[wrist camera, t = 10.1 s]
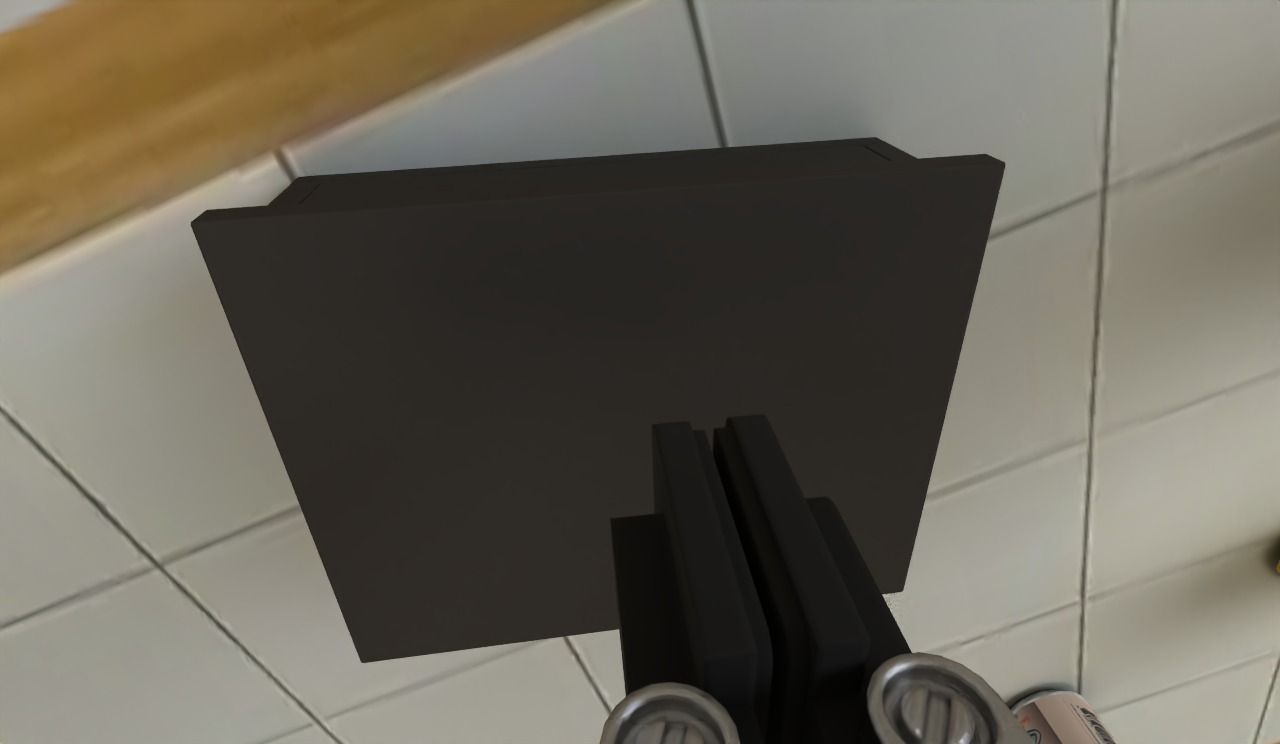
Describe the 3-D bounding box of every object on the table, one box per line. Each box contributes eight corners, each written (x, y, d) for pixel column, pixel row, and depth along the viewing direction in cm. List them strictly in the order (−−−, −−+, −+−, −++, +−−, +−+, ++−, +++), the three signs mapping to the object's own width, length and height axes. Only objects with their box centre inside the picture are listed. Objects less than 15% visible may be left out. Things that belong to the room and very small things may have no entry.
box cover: (204, 208, 14) (188, 222, 13) (986, 152, 15) (1007, 162, 15) (366, 641, 21) (360, 664, 20) (892, 573, 22) (903, 592, 22)
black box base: (297, 176, 19) (223, 243, 14) (877, 136, 21) (973, 186, 16) (396, 519, 25) (367, 639, 21) (832, 469, 27) (892, 572, 22)
